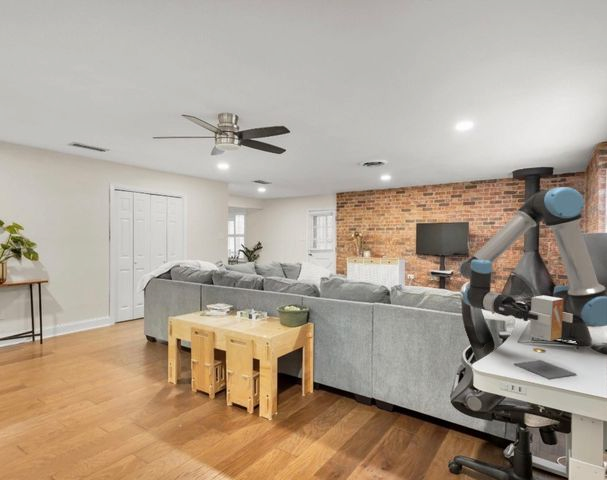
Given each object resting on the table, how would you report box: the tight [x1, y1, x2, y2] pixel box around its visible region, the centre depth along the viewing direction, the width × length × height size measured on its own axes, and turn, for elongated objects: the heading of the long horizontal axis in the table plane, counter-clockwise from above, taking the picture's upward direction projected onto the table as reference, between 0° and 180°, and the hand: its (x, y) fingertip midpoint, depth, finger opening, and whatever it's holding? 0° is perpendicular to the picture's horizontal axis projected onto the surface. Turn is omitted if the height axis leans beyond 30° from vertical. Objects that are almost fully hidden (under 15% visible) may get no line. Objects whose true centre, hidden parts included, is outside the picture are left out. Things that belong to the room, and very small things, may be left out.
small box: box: [529, 294, 564, 342], centre depth 114 cm, size 8×6×13 cm
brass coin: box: [532, 347, 547, 354], centre depth 133 cm, size 4×4×1 cm
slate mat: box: [514, 359, 577, 380], centre depth 115 cm, size 12×12×1 cm
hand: (560, 319), depth 110 cm, fingers closed on small box, 9 cm apart
